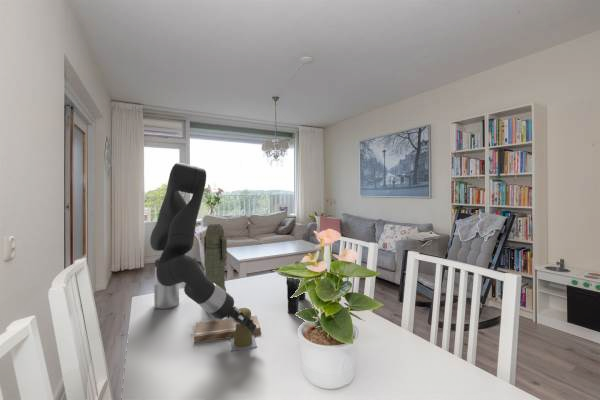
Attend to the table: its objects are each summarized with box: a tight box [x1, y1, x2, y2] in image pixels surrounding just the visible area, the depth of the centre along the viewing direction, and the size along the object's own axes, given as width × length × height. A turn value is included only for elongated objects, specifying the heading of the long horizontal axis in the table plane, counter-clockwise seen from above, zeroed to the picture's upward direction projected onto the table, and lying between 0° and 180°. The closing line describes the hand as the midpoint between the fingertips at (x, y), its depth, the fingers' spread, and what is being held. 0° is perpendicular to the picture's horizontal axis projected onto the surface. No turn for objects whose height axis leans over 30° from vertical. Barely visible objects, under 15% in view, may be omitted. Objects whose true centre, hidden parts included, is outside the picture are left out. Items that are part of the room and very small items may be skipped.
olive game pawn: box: [234, 307, 252, 347], centre depth 95 cm, size 6×6×11 cm
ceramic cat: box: [286, 261, 306, 315], centre depth 125 cm, size 20×6×20 cm, turn 165°
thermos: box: [203, 223, 228, 292], centre depth 125 cm, size 9×12×35 cm
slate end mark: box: [229, 334, 258, 352], centre depth 96 cm, size 8×8×1 cm
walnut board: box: [193, 315, 262, 343], centre depth 104 cm, size 22×10×2 cm, turn 107°
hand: (246, 324), depth 97 cm, fingers open, 8 cm apart
